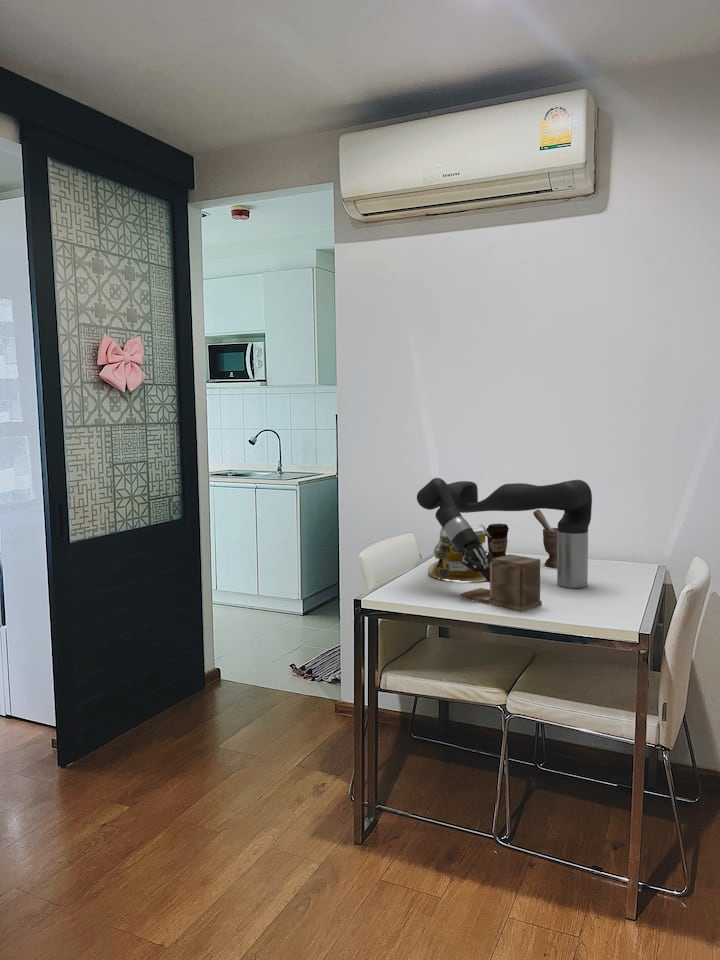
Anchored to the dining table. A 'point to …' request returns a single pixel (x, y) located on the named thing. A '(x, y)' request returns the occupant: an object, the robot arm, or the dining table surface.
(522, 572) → the walnut socket base
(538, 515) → the mortar and pestle
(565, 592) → the dining table surface
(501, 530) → the coffee cup
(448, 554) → the stacked packages on board
